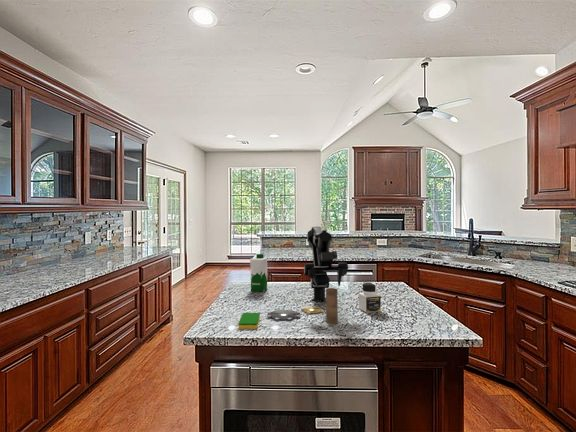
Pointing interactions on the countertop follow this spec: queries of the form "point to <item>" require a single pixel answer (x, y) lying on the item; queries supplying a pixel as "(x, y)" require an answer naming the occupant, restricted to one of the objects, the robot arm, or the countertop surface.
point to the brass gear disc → (312, 310)
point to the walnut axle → (331, 306)
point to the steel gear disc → (283, 315)
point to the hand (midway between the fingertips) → (328, 285)
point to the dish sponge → (249, 321)
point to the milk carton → (258, 273)
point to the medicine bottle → (369, 298)
